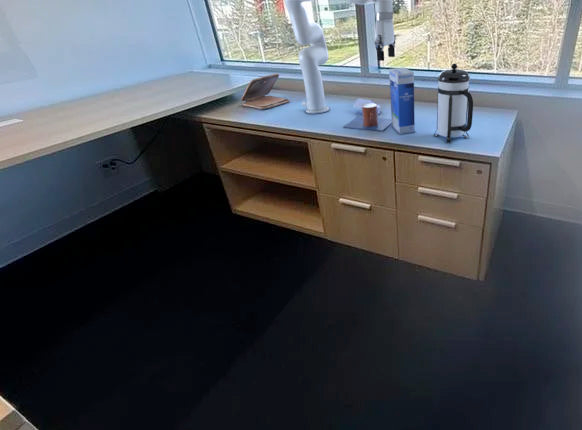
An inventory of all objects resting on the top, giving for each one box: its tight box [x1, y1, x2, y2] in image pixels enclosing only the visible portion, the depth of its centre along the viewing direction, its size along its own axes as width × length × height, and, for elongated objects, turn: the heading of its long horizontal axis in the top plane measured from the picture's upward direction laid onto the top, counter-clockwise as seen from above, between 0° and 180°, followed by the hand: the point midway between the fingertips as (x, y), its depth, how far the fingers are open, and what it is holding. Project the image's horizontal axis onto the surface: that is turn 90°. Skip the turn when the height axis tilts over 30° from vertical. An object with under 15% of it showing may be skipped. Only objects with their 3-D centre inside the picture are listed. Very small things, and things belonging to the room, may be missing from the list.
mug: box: [361, 103, 379, 127], centre depth 178 cm, size 10×7×9 cm
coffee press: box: [433, 63, 474, 143], centre depth 155 cm, size 17×16×30 cm
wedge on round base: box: [352, 97, 381, 116], centre depth 197 cm, size 9×7×13 cm
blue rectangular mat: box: [343, 116, 392, 132], centre depth 183 cm, size 20×16×1 cm
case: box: [240, 73, 290, 110], centre depth 217 cm, size 20×21×16 cm
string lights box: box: [388, 66, 416, 135], centre depth 168 cm, size 13×8×26 cm, turn 17°
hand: (386, 58), depth 174 cm, fingers open, 9 cm apart
